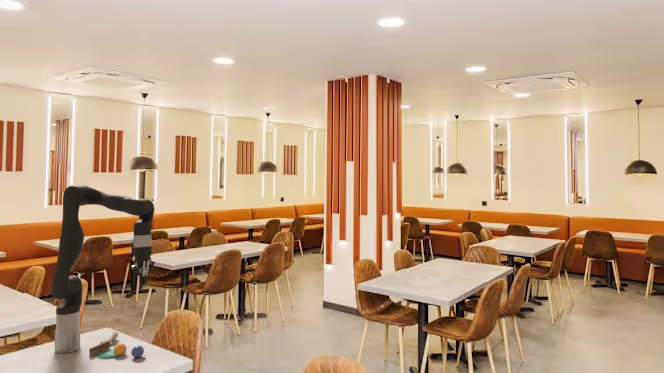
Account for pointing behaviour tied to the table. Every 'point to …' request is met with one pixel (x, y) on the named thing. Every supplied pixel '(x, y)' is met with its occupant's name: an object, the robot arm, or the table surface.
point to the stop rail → (99, 348)
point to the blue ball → (137, 351)
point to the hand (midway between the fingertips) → (143, 284)
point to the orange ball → (120, 349)
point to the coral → (111, 338)
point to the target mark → (108, 354)
